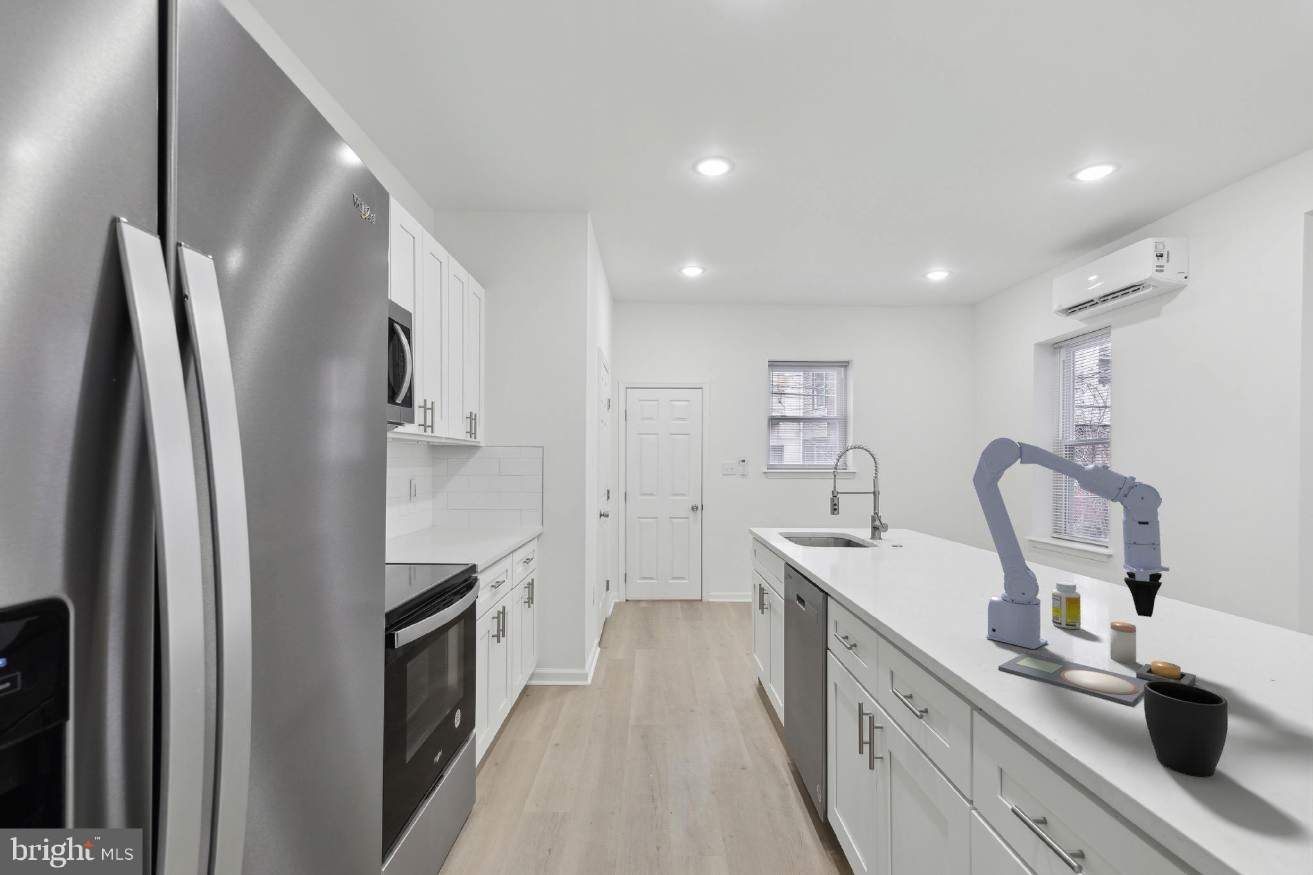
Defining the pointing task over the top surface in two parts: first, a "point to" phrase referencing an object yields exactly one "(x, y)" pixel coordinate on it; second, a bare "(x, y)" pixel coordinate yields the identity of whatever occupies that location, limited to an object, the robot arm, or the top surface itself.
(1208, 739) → the black oval cup
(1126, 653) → the white and brown cylinder
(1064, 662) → the picture board
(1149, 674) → the button housing
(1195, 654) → the top surface
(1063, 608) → the supplement bottle
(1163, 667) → the button
